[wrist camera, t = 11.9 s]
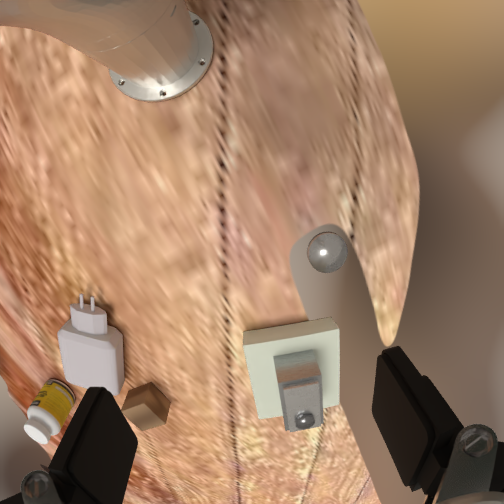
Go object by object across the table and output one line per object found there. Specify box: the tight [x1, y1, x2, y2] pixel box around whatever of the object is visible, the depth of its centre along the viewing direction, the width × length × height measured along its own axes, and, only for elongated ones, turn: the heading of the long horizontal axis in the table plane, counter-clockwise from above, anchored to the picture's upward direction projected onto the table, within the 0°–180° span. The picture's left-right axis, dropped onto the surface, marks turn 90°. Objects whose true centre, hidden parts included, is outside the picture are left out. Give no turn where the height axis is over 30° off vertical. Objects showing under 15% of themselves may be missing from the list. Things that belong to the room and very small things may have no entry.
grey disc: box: [307, 232, 348, 273], centre depth 38 cm, size 5×5×1 cm
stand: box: [243, 317, 340, 419], centre depth 41 cm, size 14×12×4 cm
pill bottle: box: [24, 379, 75, 444], centre depth 38 cm, size 6×6×12 cm
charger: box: [57, 293, 125, 395], centre depth 38 cm, size 5×9×15 cm
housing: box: [273, 349, 324, 432], centre depth 36 cm, size 9×5×7 cm, turn 10°
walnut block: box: [121, 382, 171, 431], centre depth 42 cm, size 5×5×5 cm
